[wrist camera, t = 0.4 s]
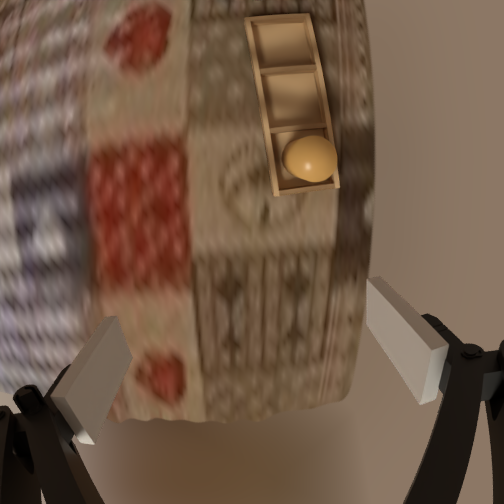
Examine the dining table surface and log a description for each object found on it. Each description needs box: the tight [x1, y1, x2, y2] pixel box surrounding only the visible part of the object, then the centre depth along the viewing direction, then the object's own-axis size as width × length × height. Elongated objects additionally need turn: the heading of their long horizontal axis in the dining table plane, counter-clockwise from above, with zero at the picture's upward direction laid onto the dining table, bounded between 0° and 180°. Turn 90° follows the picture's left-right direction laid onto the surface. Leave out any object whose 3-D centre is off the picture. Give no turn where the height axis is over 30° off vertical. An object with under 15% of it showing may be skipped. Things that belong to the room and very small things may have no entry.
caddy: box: [244, 13, 340, 196], centre depth 36 cm, size 23×8×3 cm, turn 9°
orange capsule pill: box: [281, 136, 337, 182], centre depth 35 cm, size 5×5×8 cm
